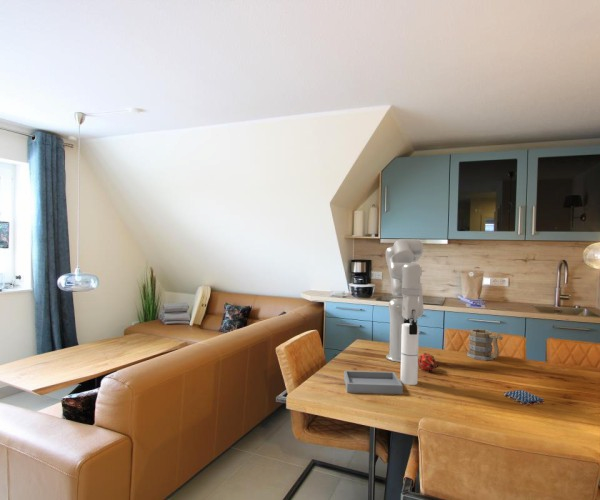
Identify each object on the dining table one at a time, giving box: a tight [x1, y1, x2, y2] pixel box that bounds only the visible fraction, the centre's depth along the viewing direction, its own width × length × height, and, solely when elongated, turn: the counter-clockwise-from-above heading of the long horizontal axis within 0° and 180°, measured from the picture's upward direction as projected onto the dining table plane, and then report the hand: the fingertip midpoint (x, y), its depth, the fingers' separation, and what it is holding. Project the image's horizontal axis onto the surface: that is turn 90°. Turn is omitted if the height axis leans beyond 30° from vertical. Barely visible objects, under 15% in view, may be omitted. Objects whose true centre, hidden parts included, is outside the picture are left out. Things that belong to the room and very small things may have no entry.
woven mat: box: [503, 389, 545, 406], centre depth 151 cm, size 10×11×2 cm
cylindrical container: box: [399, 323, 420, 386], centre depth 167 cm, size 7×7×25 cm
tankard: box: [466, 328, 504, 361], centre depth 204 cm, size 20×13×15 cm, turn 17°
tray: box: [343, 370, 404, 395], centre depth 162 cm, size 16×22×4 cm
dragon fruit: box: [418, 352, 440, 373], centre depth 183 cm, size 8×8×12 cm
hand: (410, 331), depth 166 cm, fingers open, 9 cm apart
